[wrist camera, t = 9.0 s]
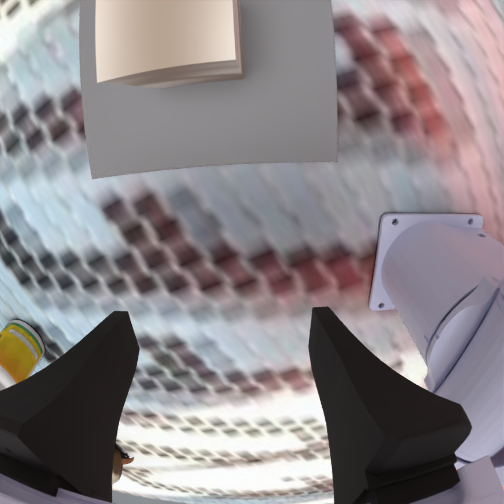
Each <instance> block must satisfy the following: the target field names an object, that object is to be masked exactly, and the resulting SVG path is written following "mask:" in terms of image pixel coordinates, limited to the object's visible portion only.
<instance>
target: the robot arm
mask: <svg viewBox="0 0 504 504" xmlns="http://www.w3.org/2000/svg"><path fill="white" fill-rule="evenodd" d="M395 218H396V222H395V223H393V224H392V220H393V219H395ZM470 219H471V220H470ZM469 220H470V222H469V223H468V221H469ZM483 220H484V219H483V217H482V216H481V215H479V214H419V213H392V214H385V215H383V216H382V218H381V222H380V231H379V239H378V247H377V255H376V262H375V269H374V276H373V282H372V288H371V294H370V300H369V308H370V309H371V310H372V311H380V310H390V309H396V310H397V312H398V313H399V315H400V317H401V319H402V320H403V322H404V324H405V326H406V328H407V329H408V331H409V333H410V335H411V337H412V339H413V340H414V342H415V344H416V346H417V348H418V350H419V352H420V354H421V355H422V357H423V359H424V361H425V363H426V365H427V367H428V373H427V376H426V377H425V379H424V382H425V384H426V386H427V388H428V390H426V389H424V388H422V387H420V386H418V385H416V384H415V383H413V382H411V381H410V380H408V379H406V378H405V377H403V376H402V375H400V374H399V373H397V372H396V371H394V370H393V369H391V368H390V367H389V366H388V365H386V364H385V363H384V362H382V361H381V360H380V359H379V358H377V357H376V356H375V355H374V354H373V353H372V352H371V351H369V350H368V349H367V348H366V347H365V346H364V345H363V344H362V343H361V342H360V341H359V340H358V339H357V338H356V337H355V336H354V335H353V334H352V333H351V332H350V331H349V329H348V328H347V327H346V326H345V325H344V324H343V323H342V322H341V320H340V319H339V318H338V317H337V316H336V315H335V314H334V312H333V311H332V310H331V309H330V308H329V307H314V308H312V318H311V328H310V337H309V346H308V347H309V354H310V361H311V368H312V372H313V376H314V379H315V383H316V387H317V390H318V394H319V397H320V401H321V405H322V408H323V412H324V416H325V421H326V426H327V433H328V440H329V447H330V456H331V464H332V475H333V488H334V504H504V490H503V486H504V245H503V244H502V243H500V242H499V241H498V240H496V239H495V238H494V237H493V236H491V235H490V234H488V233H487V232H486V231H484V230H483V229H482V226H483ZM380 303H383V304H382V305H380V306H379V304H380ZM139 350H140V348H139V345H138V342H137V339H136V336H135V333H134V330H133V327H132V324H131V320H130V317H129V314H128V311H114V312H113V313H111V314H110V315H109V316H108V317H106V318H105V319H104V320H103V321H102V322H101V323H100V324H99V325H97V326H96V327H95V328H94V329H93V330H92V331H91V332H90V333H89V334H87V335H86V336H85V337H84V338H83V339H82V340H81V341H80V342H78V343H77V344H76V345H75V346H73V347H72V348H71V349H70V350H69V351H67V352H66V353H65V354H64V355H62V356H61V357H60V358H58V359H57V360H56V361H54V362H53V363H51V364H50V365H48V366H47V367H46V368H44V369H42V370H41V371H39V372H37V373H35V374H34V375H32V376H30V377H29V378H27V379H25V380H23V381H21V382H19V383H17V384H15V385H12V386H10V387H8V388H5V389H3V390H0V504H114V503H112V473H113V460H114V451H115V443H116V437H117V431H118V425H119V421H120V417H121V413H122V410H123V407H124V404H125V401H126V398H127V395H128V392H129V389H130V386H131V383H132V380H133V377H134V374H135V370H136V366H137V361H138V355H139ZM456 468H457V469H458V470H456Z"/></svg>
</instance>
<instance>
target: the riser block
mask: <svg viewBox="0 0 504 504" xmlns="http://www.w3.org/2000/svg"><path fill="white" fill-rule="evenodd" d="M95 13H96V0H80V24H79V49H80V77H81V93H82V105H83V116H84V125H85V134H86V142H87V149H88V156H89V163H90V169H91V175H92V179H97V178H104V177H110V176H118V175H125V174H133V173H141V172H150V171H159V170H169V169H179V168H190V167H202V166H216V165H232V164H251V163H278V162H337V144H338V130H337V82H336V59H335V43H334V29H333V17H332V6H331V0H240V13H241V30H242V48H243V65H244V79H241V80H227V81H215V82H205V83H196V84H188V85H181V86H173V87H167V88H160V89H156V88H148V87H140V86H130V85H120V84H107V83H97V71H96V44H95Z"/></svg>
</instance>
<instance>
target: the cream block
mask: <svg viewBox="0 0 504 504" xmlns="http://www.w3.org/2000/svg"><path fill="white" fill-rule="evenodd" d="M95 44H96V71H97V83H107V84H120V85H130V86H140V87H148V88H156V89H160V88H167V87H173V86H181V85H188V84H196V83H205V82H215V81H227V80H241V79H244V65H243V48H242V30H241V13H240V0H96V13H95Z"/></svg>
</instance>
